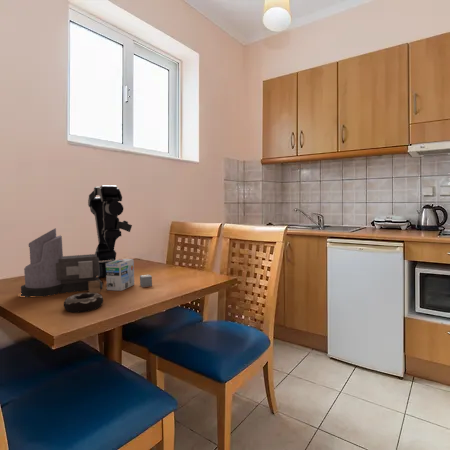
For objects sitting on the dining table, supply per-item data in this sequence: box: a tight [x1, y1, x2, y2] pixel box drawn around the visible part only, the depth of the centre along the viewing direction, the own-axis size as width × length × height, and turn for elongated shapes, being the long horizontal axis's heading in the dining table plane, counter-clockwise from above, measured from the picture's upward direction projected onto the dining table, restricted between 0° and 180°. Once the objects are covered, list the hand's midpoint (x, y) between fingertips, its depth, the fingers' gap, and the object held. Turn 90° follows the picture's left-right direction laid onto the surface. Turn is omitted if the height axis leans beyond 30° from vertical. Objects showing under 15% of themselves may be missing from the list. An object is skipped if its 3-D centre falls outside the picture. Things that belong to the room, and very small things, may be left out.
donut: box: [63, 291, 104, 313], centre depth 103 cm, size 12×12×4 cm
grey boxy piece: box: [20, 228, 103, 298], centre depth 126 cm, size 30×16×24 cm, turn 110°
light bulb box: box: [105, 258, 135, 292], centre depth 128 cm, size 11×7×11 cm, turn 169°
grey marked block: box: [139, 274, 153, 288], centre depth 130 cm, size 4×4×4 cm
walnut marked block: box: [88, 279, 101, 294], centre depth 122 cm, size 4×4×4 cm
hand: (112, 252), depth 136 cm, fingers closed
